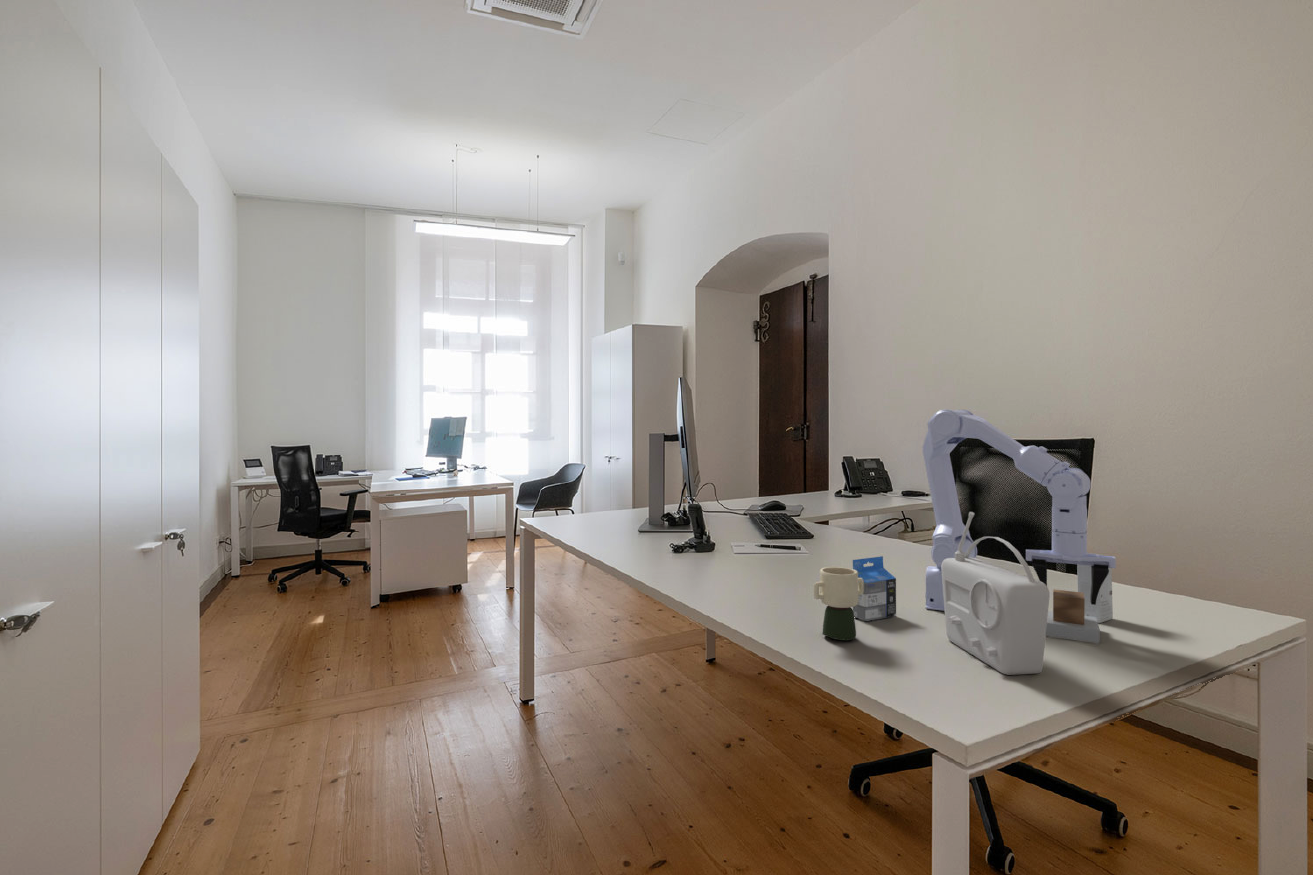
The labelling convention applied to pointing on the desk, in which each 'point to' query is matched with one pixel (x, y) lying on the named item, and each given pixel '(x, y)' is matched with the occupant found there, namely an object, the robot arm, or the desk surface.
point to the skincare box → (1104, 598)
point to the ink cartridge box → (875, 590)
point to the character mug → (839, 600)
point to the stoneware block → (1074, 629)
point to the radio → (995, 610)
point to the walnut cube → (1068, 606)
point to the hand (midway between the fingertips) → (1069, 600)
